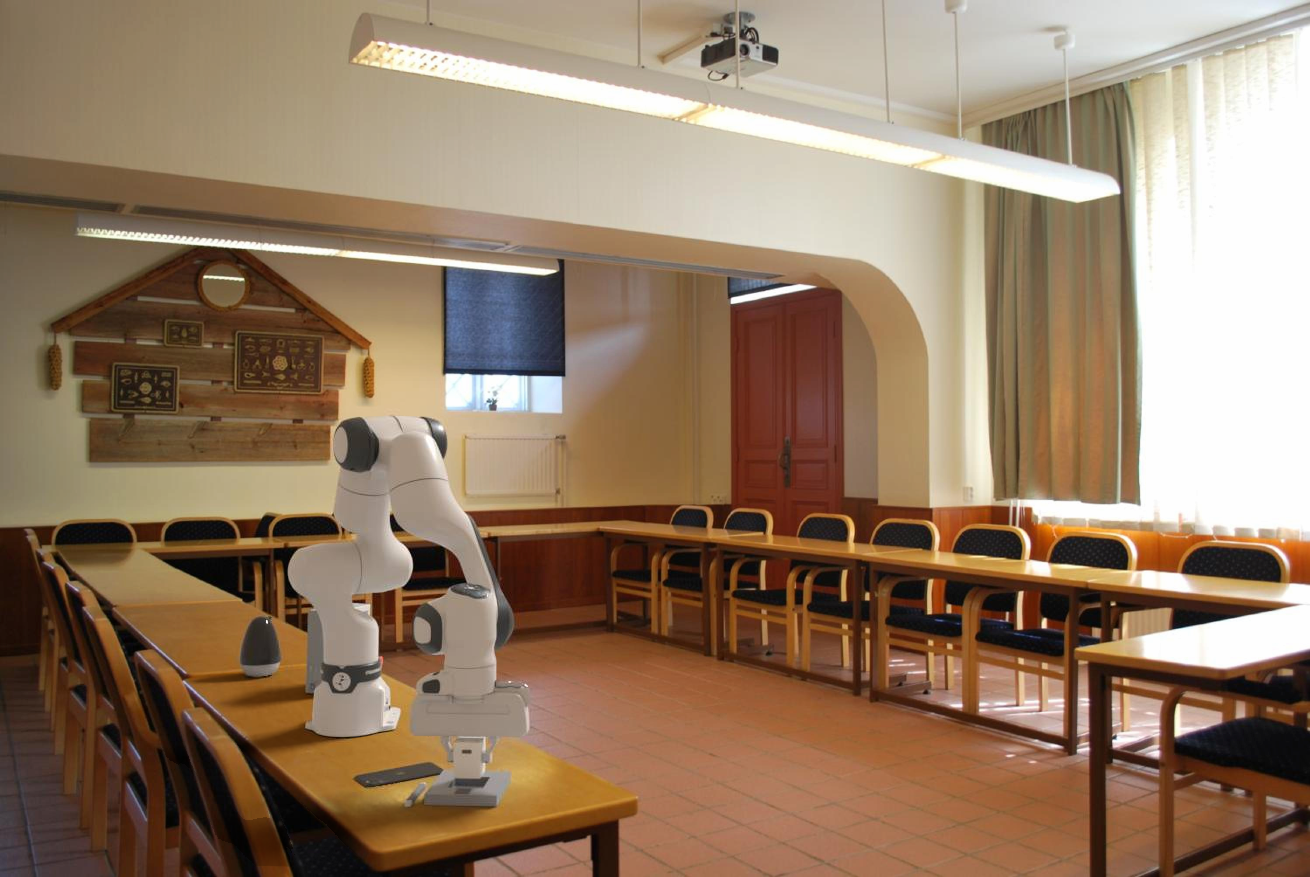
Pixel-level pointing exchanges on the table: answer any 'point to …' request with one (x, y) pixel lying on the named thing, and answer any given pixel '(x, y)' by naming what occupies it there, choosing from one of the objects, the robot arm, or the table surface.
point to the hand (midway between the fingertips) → (469, 761)
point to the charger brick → (469, 757)
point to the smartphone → (399, 774)
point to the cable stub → (415, 794)
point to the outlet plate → (468, 789)
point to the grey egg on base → (260, 648)
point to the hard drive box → (318, 647)
